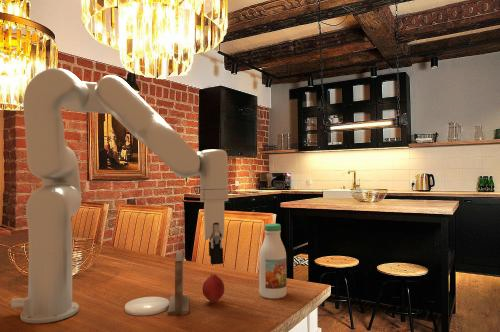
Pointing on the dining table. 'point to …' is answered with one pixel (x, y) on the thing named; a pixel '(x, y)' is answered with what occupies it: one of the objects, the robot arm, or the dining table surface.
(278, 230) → the milk bottle
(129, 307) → the coaster
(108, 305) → the dining table surface
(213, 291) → the onion
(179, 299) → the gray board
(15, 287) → the dining table surface
